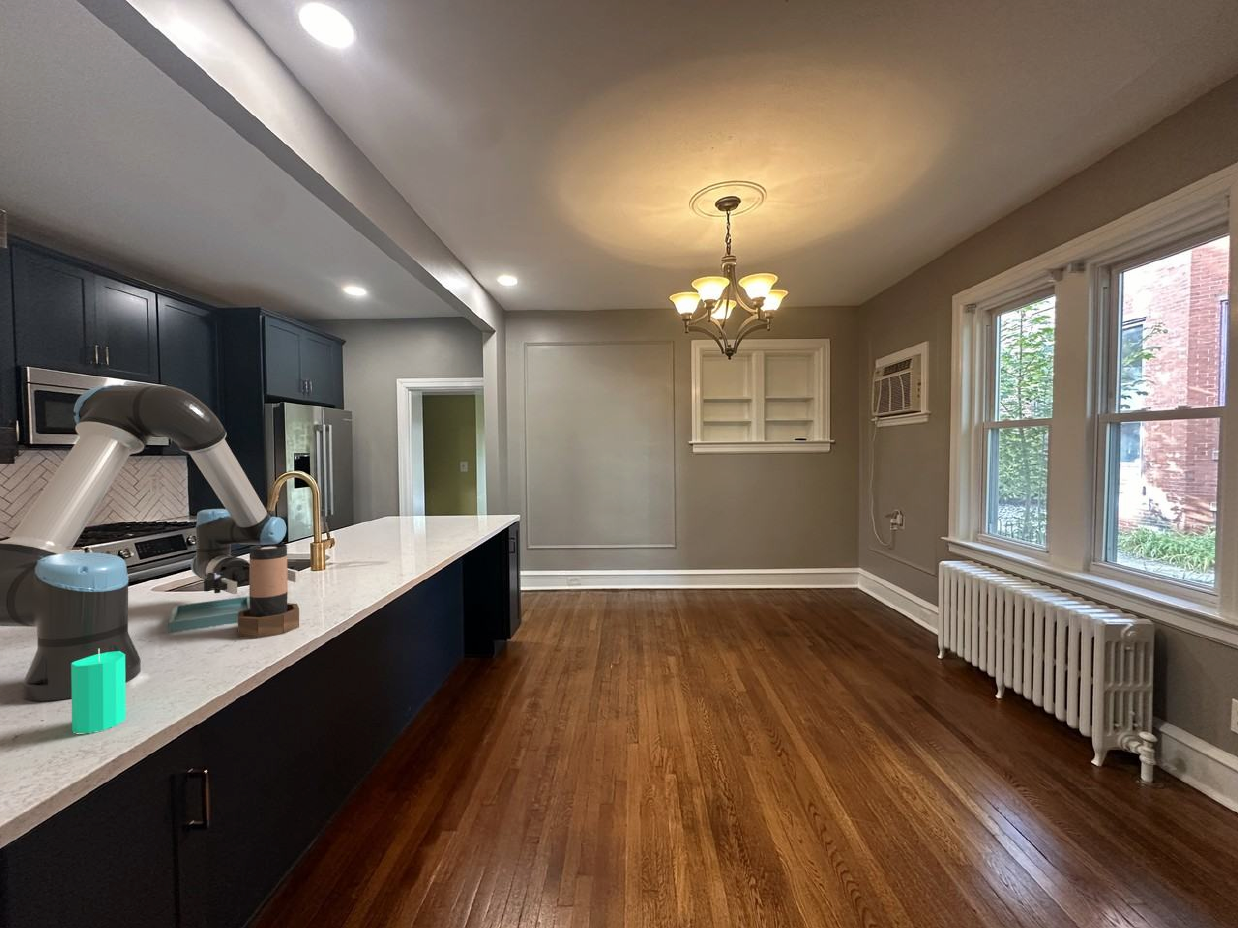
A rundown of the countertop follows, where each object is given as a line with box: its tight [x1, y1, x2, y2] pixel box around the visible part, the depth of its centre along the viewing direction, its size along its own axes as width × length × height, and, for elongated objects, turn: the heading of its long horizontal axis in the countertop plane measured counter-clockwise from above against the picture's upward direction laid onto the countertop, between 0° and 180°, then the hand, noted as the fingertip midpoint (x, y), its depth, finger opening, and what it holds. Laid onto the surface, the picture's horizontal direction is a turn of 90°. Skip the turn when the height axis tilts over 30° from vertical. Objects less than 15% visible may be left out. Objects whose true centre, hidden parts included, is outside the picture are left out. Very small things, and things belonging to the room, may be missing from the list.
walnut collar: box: [237, 602, 300, 639], centre depth 125 cm, size 12×12×4 cm
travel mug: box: [248, 543, 289, 617], centre depth 125 cm, size 8×8×20 cm
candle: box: [71, 649, 127, 733], centre depth 81 cm, size 6×6×12 cm
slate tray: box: [168, 595, 250, 634], centre depth 133 cm, size 16×16×2 cm
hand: (267, 582), depth 127 cm, fingers open, 13 cm apart
